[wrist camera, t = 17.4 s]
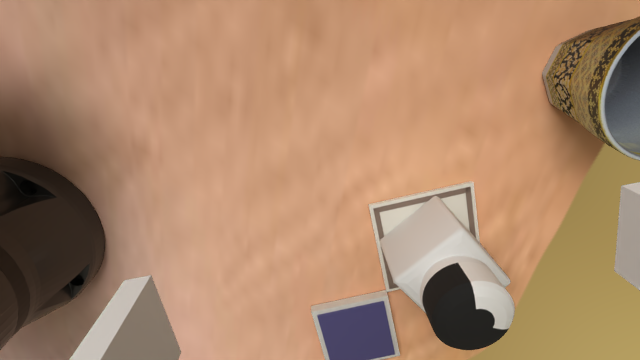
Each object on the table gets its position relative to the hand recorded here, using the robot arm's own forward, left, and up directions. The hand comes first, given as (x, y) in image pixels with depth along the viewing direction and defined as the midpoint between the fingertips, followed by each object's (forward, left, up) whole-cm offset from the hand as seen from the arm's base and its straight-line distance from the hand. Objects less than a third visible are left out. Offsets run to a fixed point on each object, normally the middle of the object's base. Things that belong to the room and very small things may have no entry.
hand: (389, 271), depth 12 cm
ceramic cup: (+23, -3, -26) cm, 35 cm away
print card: (+6, -15, -26) cm, 30 cm away
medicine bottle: (+6, -15, -26) cm, 30 cm away
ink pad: (-3, -24, -26) cm, 35 cm away
